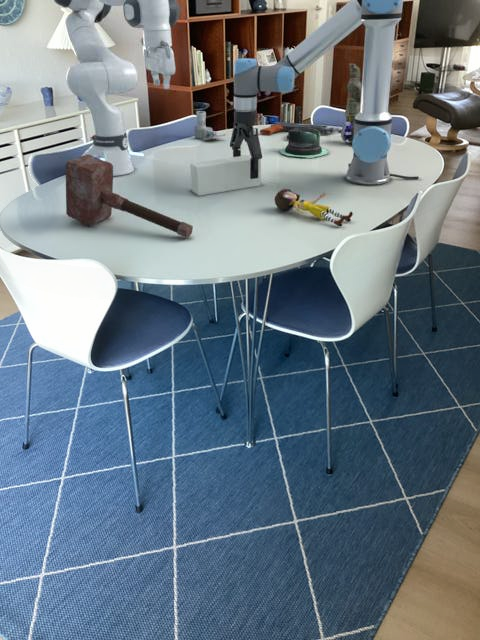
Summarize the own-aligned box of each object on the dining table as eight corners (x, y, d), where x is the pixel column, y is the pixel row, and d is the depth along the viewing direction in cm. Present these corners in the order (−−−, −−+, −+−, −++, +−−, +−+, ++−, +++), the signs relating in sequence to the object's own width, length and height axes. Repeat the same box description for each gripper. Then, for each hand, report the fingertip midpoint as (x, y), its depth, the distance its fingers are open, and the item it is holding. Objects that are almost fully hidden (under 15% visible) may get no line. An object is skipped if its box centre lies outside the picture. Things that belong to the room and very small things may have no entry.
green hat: (332, 145, 241) (326, 158, 224) (294, 164, 249) (286, 177, 233) (317, 113, 235) (310, 124, 219) (279, 133, 244) (269, 145, 228)
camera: (202, 109, 261) (225, 113, 253) (203, 135, 267) (226, 140, 259) (189, 112, 256) (212, 116, 247) (190, 138, 262) (213, 143, 253)
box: (198, 195, 188) (197, 167, 183) (191, 190, 192) (190, 163, 188) (260, 185, 196) (260, 158, 192) (252, 180, 201) (252, 154, 196)
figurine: (337, 215, 154) (266, 188, 166) (332, 239, 158) (263, 212, 171) (360, 203, 163) (291, 178, 175) (355, 226, 167) (288, 200, 179)
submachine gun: (253, 131, 261) (276, 121, 280) (253, 137, 263) (276, 126, 281) (316, 137, 247) (336, 126, 266) (315, 143, 249) (335, 132, 267)
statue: (367, 132, 266) (374, 63, 251) (349, 133, 264) (355, 64, 249) (357, 127, 275) (362, 61, 260) (339, 129, 273) (344, 62, 258)
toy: (345, 120, 249) (377, 123, 242) (343, 139, 253) (375, 143, 246) (337, 123, 243) (369, 127, 236) (336, 143, 247) (367, 147, 240)
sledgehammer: (202, 197, 152) (86, 152, 164) (183, 208, 145) (63, 160, 156) (194, 252, 162) (86, 206, 174) (176, 265, 155) (64, 216, 166)
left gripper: (178, 41, 170) (181, 90, 177) (157, 38, 186) (160, 82, 193) (158, 42, 168) (163, 91, 175) (138, 39, 184) (143, 84, 191)
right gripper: (273, 115, 176) (271, 181, 187) (239, 103, 195) (239, 163, 206) (252, 117, 173) (252, 184, 184) (219, 105, 193) (221, 166, 203)
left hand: (161, 87), depth 184 cm, fingers open, 8 cm apart
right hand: (245, 173), depth 195 cm, fingers open, 13 cm apart
